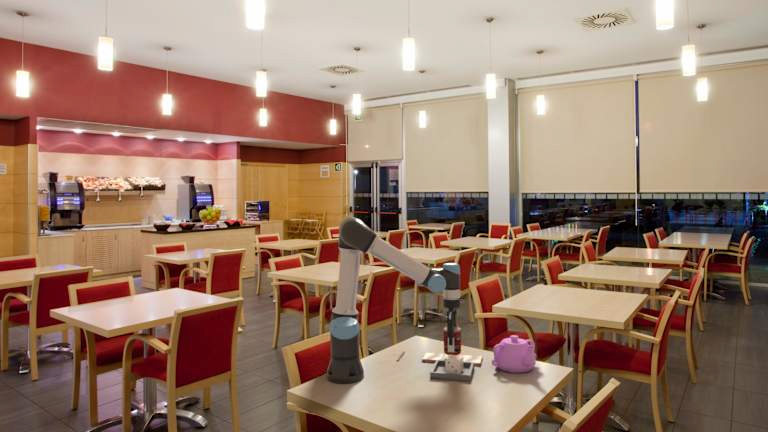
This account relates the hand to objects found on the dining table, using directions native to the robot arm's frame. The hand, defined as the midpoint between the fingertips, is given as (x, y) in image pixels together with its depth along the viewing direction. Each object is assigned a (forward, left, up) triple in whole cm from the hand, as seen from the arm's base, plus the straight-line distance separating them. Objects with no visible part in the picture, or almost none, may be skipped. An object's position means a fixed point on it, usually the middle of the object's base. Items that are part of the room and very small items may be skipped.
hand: (452, 348), depth 229 cm
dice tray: (+2, -16, -5) cm, 17 cm away
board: (-6, 0, -5) cm, 8 cm away
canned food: (0, 0, -2) cm, 2 cm away
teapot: (+28, -6, -5) cm, 29 cm away
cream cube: (0, -16, -1) cm, 16 cm away
